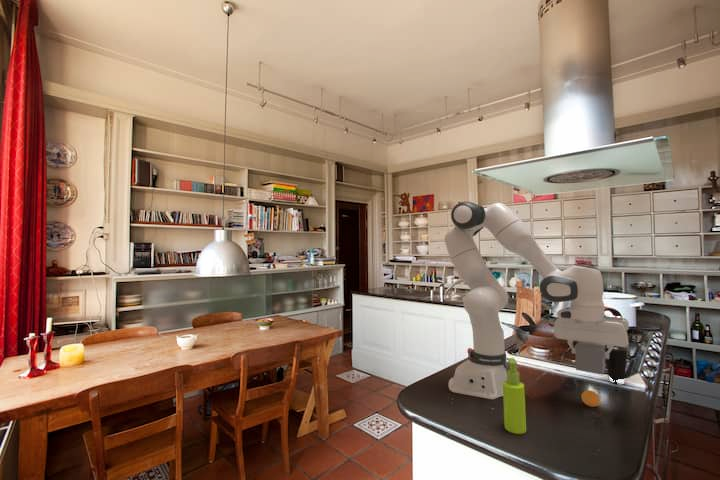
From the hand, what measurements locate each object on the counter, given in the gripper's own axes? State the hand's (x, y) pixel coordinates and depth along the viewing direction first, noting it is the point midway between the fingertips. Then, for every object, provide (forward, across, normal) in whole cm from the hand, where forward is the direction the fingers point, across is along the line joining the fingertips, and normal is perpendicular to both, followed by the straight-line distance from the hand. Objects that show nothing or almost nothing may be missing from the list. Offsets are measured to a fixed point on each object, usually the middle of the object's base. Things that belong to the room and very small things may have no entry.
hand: (590, 355), depth 112 cm
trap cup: (+4, 0, 0) cm, 4 cm away
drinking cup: (+17, -4, -29) cm, 34 cm away
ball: (+15, +1, -2) cm, 15 cm away
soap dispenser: (+17, +16, +27) cm, 36 cm away
